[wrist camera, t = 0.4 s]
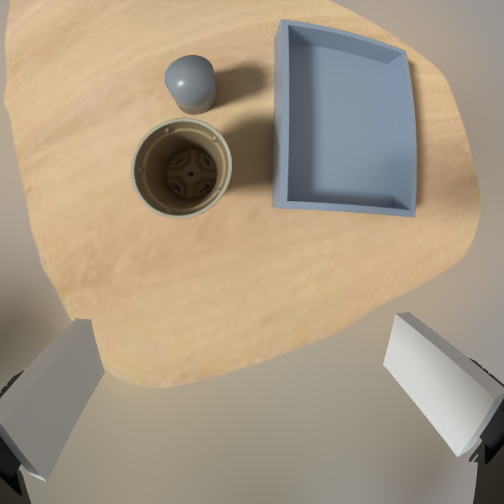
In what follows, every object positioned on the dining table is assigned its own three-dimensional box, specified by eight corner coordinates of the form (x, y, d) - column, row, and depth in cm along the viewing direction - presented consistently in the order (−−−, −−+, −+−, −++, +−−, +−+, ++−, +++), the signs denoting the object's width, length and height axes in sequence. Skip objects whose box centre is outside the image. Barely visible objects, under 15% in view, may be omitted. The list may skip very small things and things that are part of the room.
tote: (274, 38, 28) (281, 19, 23) (389, 62, 30) (406, 51, 25) (271, 206, 33) (279, 208, 28) (394, 213, 35) (415, 217, 30)
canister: (178, 80, 29) (167, 56, 22) (217, 79, 29) (215, 54, 22) (174, 115, 30) (162, 97, 23) (215, 114, 30) (212, 95, 24)
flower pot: (175, 124, 30) (159, 103, 22) (244, 155, 32) (250, 142, 23) (142, 193, 32) (115, 194, 23) (210, 225, 33) (204, 236, 25)
